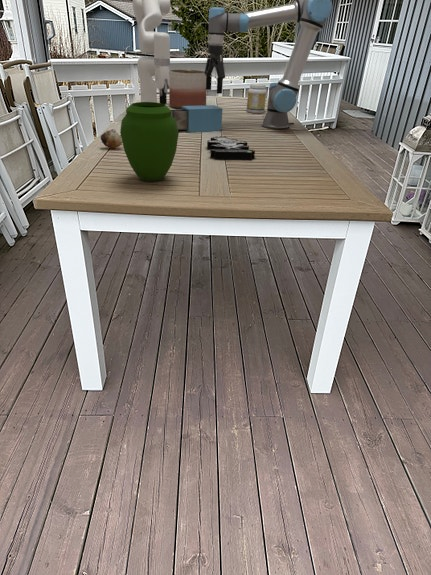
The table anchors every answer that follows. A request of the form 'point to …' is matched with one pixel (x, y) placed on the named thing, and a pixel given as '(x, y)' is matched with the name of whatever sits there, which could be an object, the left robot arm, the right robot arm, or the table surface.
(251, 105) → the supplement tub
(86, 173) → the table surface
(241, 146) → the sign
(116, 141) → the seashell
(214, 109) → the blue storage bin
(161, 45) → the left robot arm
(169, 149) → the vase
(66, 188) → the table surface
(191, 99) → the planter
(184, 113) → the drawer
